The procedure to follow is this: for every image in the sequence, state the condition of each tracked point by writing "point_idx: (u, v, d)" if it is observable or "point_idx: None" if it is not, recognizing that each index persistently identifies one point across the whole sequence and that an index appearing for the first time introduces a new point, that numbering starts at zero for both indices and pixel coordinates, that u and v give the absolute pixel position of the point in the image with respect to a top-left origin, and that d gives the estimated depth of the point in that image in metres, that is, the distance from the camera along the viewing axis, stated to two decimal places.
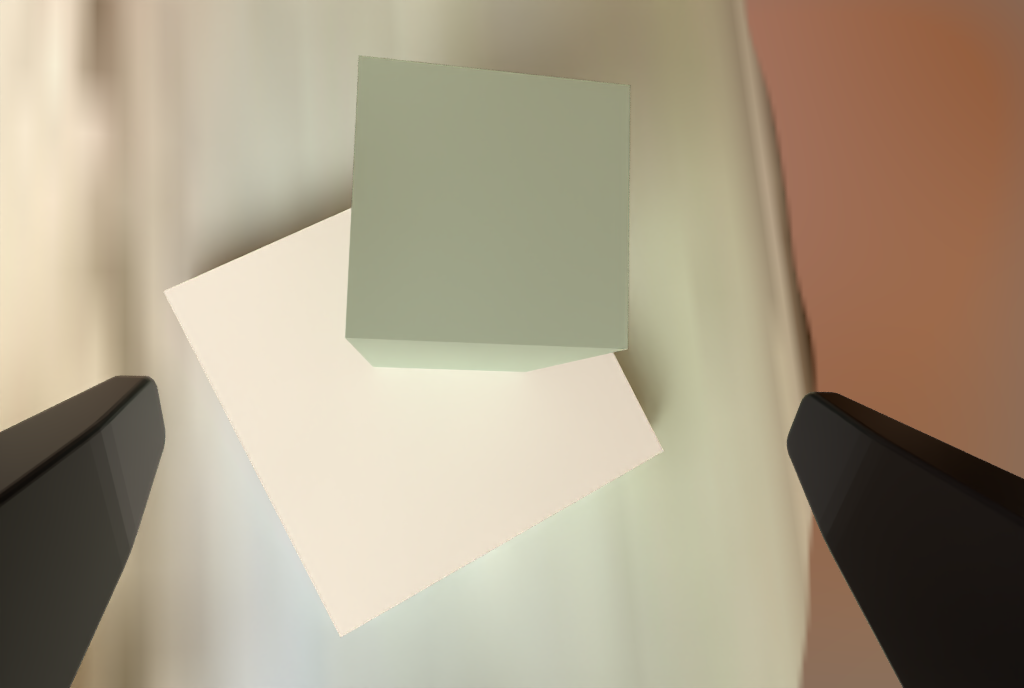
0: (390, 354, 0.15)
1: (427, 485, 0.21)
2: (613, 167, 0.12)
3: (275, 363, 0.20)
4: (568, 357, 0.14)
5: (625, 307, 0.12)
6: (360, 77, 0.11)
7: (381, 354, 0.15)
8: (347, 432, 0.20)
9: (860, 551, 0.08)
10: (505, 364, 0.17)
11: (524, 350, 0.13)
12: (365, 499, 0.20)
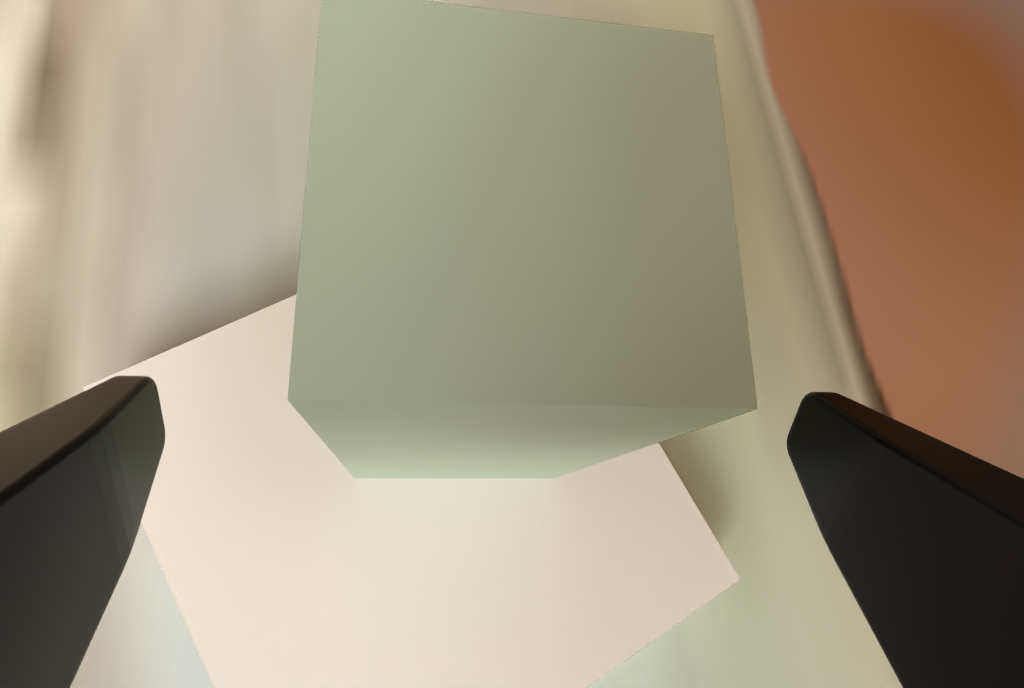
0: (372, 447, 0.10)
1: (427, 641, 0.15)
2: (702, 140, 0.08)
3: (225, 477, 0.15)
4: (637, 439, 0.10)
5: (744, 342, 0.07)
6: (324, 15, 0.08)
7: (359, 448, 0.10)
8: (318, 569, 0.15)
9: (860, 551, 0.08)
10: (534, 463, 0.13)
11: (581, 423, 0.08)
12: (341, 667, 0.15)
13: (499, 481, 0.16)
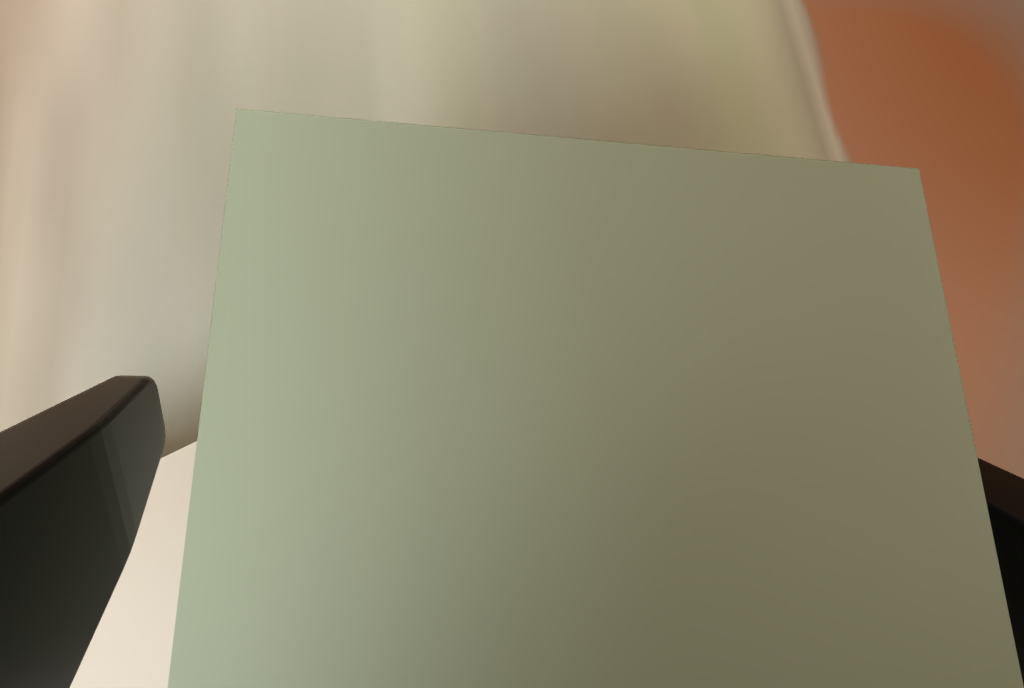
0: None
1: None
2: (922, 372, 0.04)
3: (167, 660, 0.12)
4: None
5: None
6: (237, 163, 0.04)
7: None
8: None
9: None
10: None
11: None
12: None
13: None
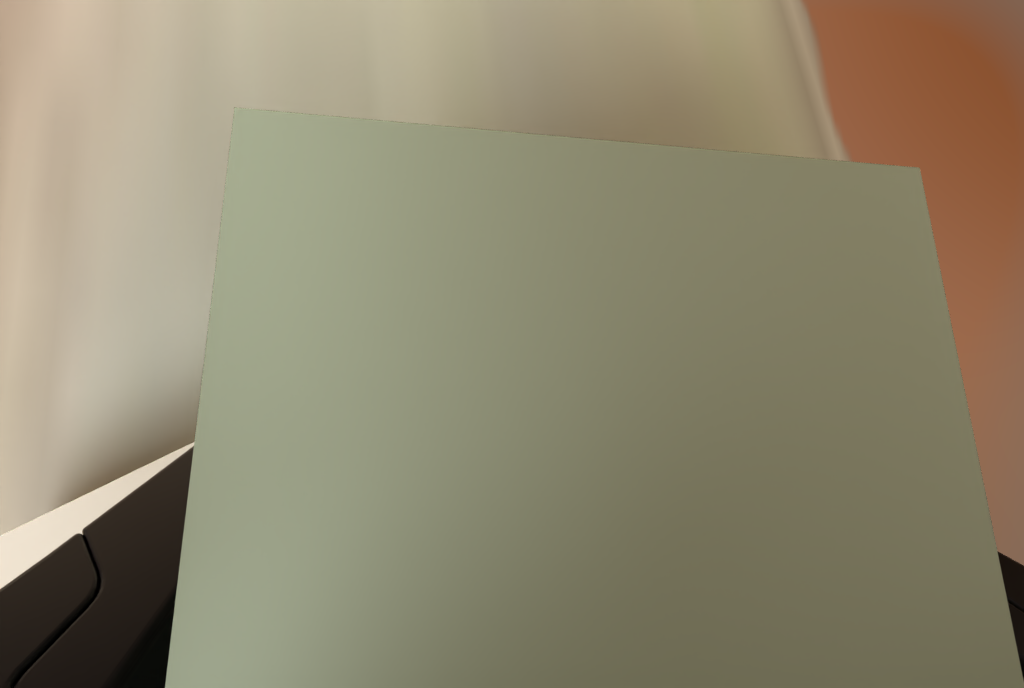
0: None
1: None
2: (922, 372, 0.04)
3: None
4: None
5: None
6: (235, 162, 0.04)
7: None
8: None
9: None
10: None
11: None
12: None
13: None
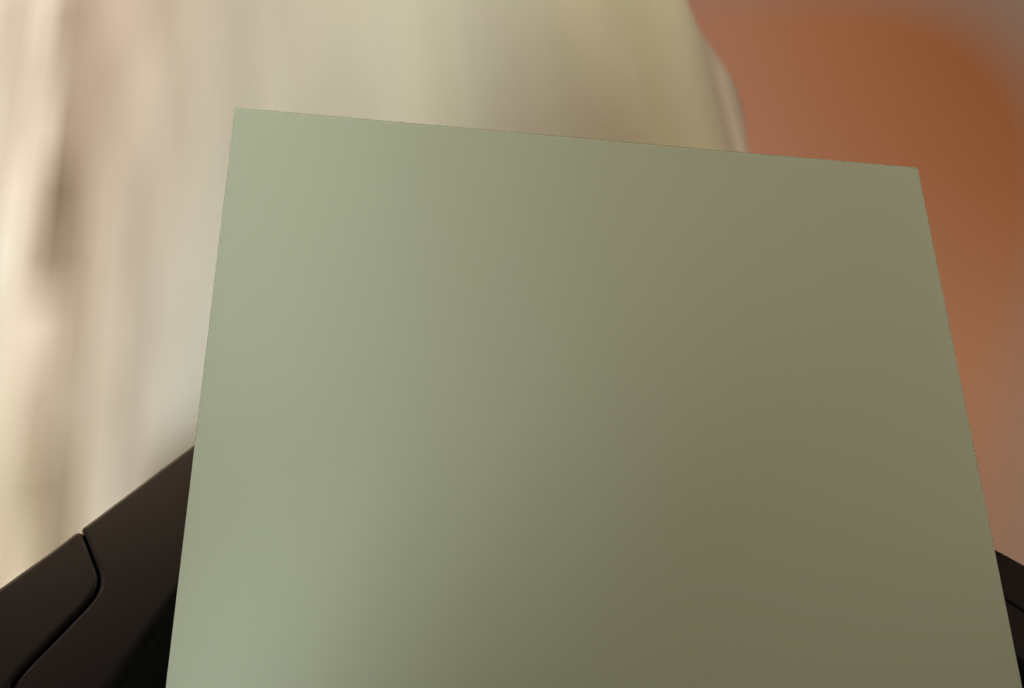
0: None
1: None
2: (920, 371, 0.04)
3: None
4: None
5: None
6: (236, 162, 0.04)
7: None
8: None
9: None
10: None
11: None
12: None
13: None
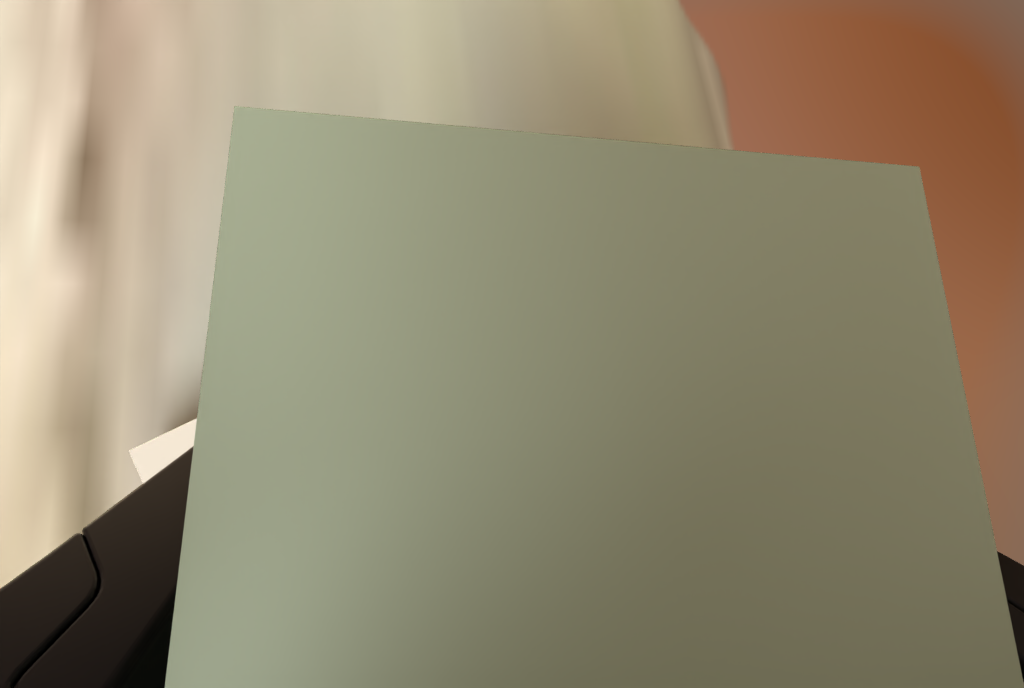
0: None
1: None
2: (922, 371, 0.04)
3: None
4: None
5: None
6: (235, 160, 0.04)
7: None
8: None
9: None
10: None
11: None
12: None
13: None
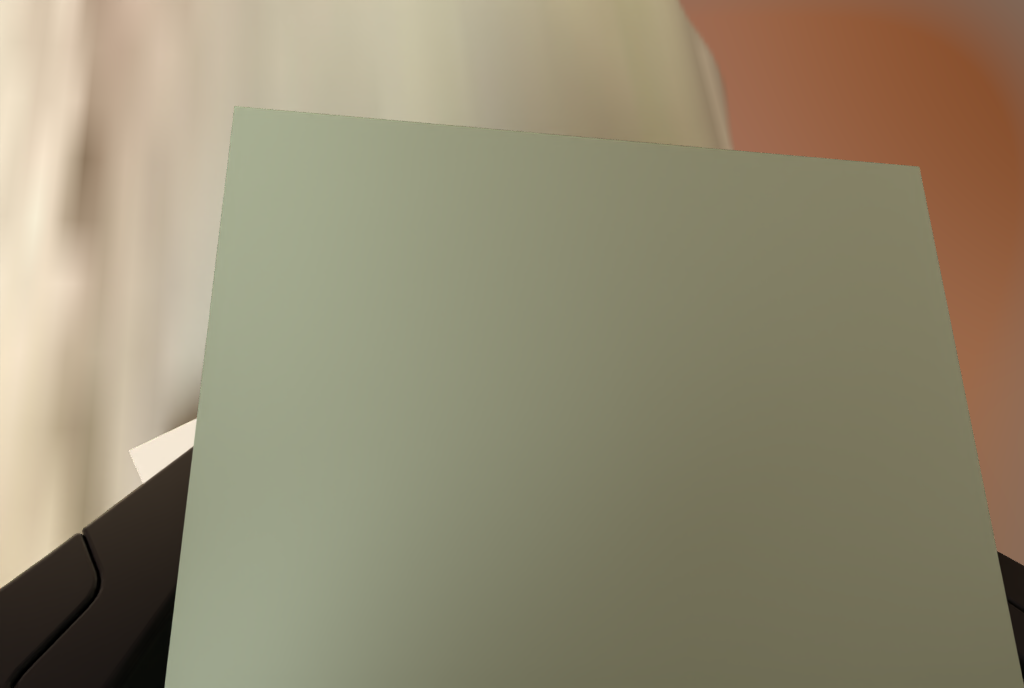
0: None
1: None
2: (922, 371, 0.04)
3: None
4: None
5: None
6: (235, 160, 0.04)
7: None
8: None
9: None
10: None
11: None
12: None
13: None
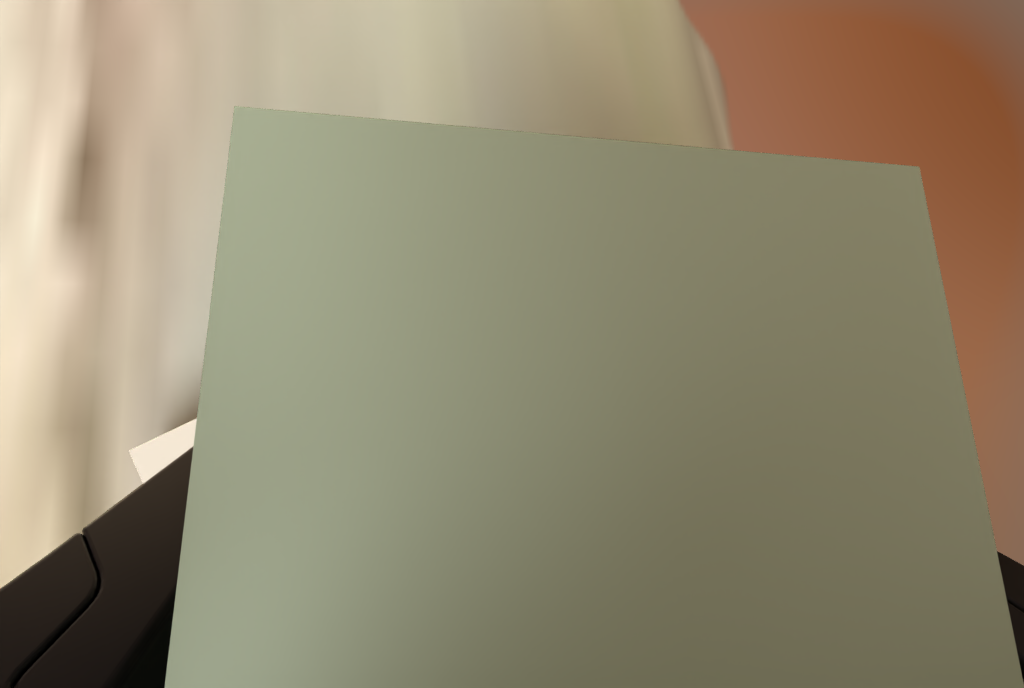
0: None
1: None
2: (922, 371, 0.04)
3: None
4: None
5: None
6: (235, 160, 0.04)
7: None
8: None
9: None
10: None
11: None
12: None
13: None
